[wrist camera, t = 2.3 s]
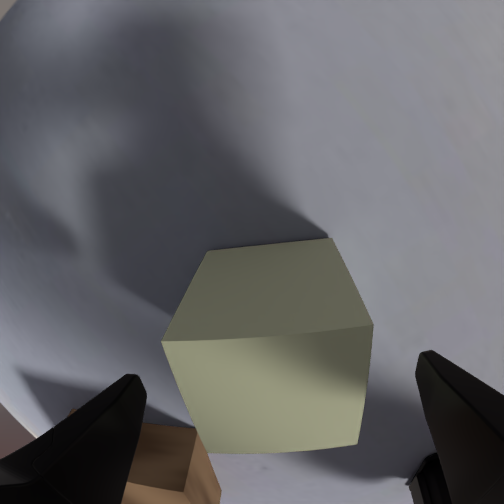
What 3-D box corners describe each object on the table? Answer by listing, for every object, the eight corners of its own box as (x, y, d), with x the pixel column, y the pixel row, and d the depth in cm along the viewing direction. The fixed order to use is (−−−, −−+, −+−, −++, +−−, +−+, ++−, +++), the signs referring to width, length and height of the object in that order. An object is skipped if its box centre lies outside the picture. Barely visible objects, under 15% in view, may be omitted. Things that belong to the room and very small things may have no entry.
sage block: (331, 237, 12) (373, 324, 7) (334, 339, 14) (357, 444, 8) (207, 250, 13) (160, 341, 7) (228, 348, 15) (207, 452, 9)
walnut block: (198, 427, 18) (183, 492, 13) (221, 489, 21) (214, 536, 17) (72, 408, 18) (44, 455, 14) (118, 473, 22) (103, 513, 17)
